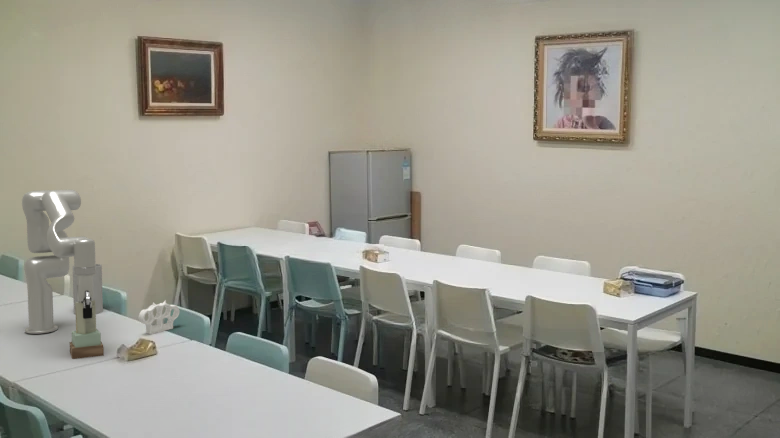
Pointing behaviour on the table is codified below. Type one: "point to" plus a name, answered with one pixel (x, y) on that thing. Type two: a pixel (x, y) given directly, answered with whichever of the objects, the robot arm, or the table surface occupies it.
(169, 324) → the white brass knuckles
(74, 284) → the cylinder vase
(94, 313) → the skincare box
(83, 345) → the tower top block
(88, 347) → the tower base block
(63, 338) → the table surface
